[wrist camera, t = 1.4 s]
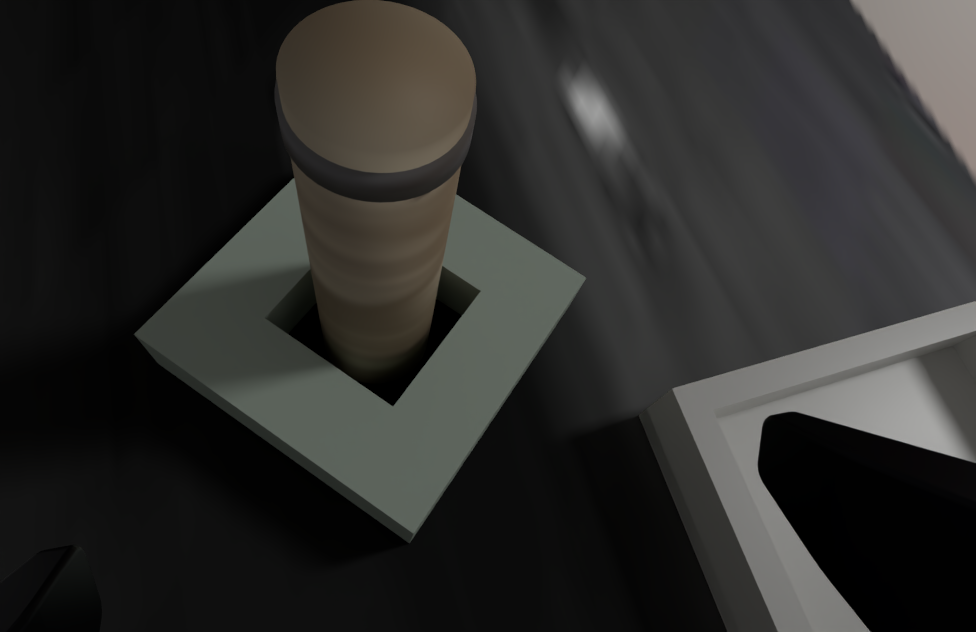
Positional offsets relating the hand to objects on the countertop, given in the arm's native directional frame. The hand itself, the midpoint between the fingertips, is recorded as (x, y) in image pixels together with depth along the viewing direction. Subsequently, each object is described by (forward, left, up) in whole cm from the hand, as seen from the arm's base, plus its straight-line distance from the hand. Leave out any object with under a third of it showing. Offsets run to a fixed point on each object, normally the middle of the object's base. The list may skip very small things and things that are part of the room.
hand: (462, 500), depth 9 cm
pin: (+6, +5, -13) cm, 15 cm away
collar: (+6, +5, -13) cm, 15 cm away
